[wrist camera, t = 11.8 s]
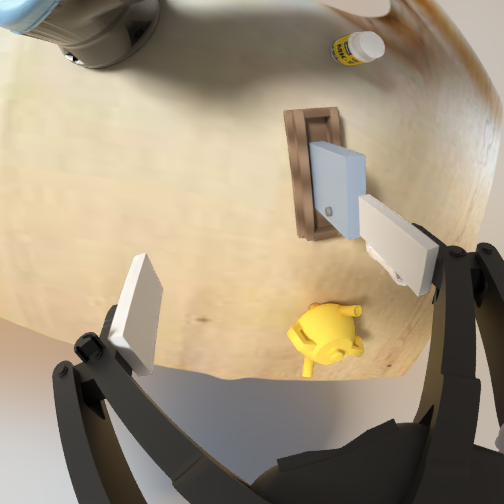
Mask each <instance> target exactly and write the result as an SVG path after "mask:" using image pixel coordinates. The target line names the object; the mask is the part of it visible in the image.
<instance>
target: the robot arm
mask: <svg viewBox="0 0 504 504" xmlns="http://www.w3.org/2000/svg"><path fill="white" fill-rule="evenodd" d="M159 16H160V5H159V1H158V0H0V27H3V28H6V29H9V30H10V31H11V32H13V33H15V34H21V35H26V36H30V37H34V38H37V39H41V40H45V41H48V42H52V43H55V44H58V46H59V47H60V49H61V51H62V53H63V54H64V56H65V57H66V58H67V59H68V60H70V61H71V62H73V63H75V64H77V65H80V66H83V67H87V68H103V67H108V66H111V65H114V64H117V63H119V62H121V61H123V60H125V59H127V58H128V57H130V56H131V55H133V54H134V53H135V52H137V51H138V50H139V49H140V48H141V47H142V46H143V45H144V44H145V43H146V42H147V41H148V39H149V38H150V37H151V35H152V34H153V32H154V30H155V28H156V26H157V23H158V20H159ZM359 223H360V236H361V237H362V238H363V239H364V240H365V241H366V242H367V243H368V244H369V245H370V246H371V247H372V248H373V249H374V250H375V251H376V252H377V253H378V254H379V255H380V256H381V257H382V258H383V259H384V260H385V261H386V262H387V263H388V264H389V265H390V267H391V268H392V269H393V270H394V271H395V272H396V273H397V274H398V275H399V276H400V277H401V278H402V280H403V281H404V282H405V283H406V284H407V285H408V286H409V287H410V288H411V290H412V291H413V292H414V293H415V294H416V295H417V296H418V297H420V296H422V295H425V294H427V293H429V292H430V288H431V284H432V283H433V284H434V285H435V286H436V290H435V294H434V297H433V301H432V304H434V314H433V326H432V335H431V344H430V352H429V359H428V365H427V371H426V376H425V382H424V387H423V392H422V396H421V401H420V405H419V408H418V411H417V414H416V416H415V418H414V421H413V423H397V424H396V423H395V420H394V419H391V420H389V421H387V422H385V423H383V424H381V425H378V426H376V427H374V428H372V429H369V430H367V431H366V432H364V433H363V434H361V435H360V436H358V437H357V438H356V439H354V440H353V441H351V442H350V443H348V444H347V445H345V446H343V447H342V448H339V449H332V450H321V451H308V452H303V453H301V454H296V455H292V456H288V457H284V458H281V459H277V463H278V465H276V466H274V467H272V468H270V469H269V470H267V471H266V472H264V473H263V474H262V475H260V476H259V477H258V478H257V479H256V480H255V482H254V483H253V484H252V485H249V484H248V483H246V482H245V481H244V480H242V479H241V478H239V477H238V476H236V475H235V474H233V473H232V472H231V471H229V470H228V469H227V468H226V467H224V466H223V465H221V464H220V463H219V462H218V461H216V460H215V459H214V458H213V457H212V456H211V455H209V454H208V453H207V452H206V451H205V450H203V449H202V448H201V447H200V446H199V445H198V444H197V443H195V442H194V441H193V440H192V439H191V438H190V437H189V436H188V435H187V434H186V433H185V432H183V431H182V430H181V429H180V428H179V427H178V426H177V425H176V424H175V423H174V422H173V421H172V420H171V419H170V418H169V417H168V416H167V415H166V414H165V413H164V412H163V411H162V410H161V409H160V408H159V407H158V406H157V405H156V404H155V403H154V401H153V400H152V399H151V398H150V397H149V396H148V395H147V394H146V393H145V392H144V390H143V389H142V388H141V387H140V386H139V385H138V384H137V383H136V381H135V380H134V379H133V378H132V377H131V375H132V370H133V371H134V372H135V373H136V374H137V375H138V376H146V375H152V373H153V362H154V353H155V344H156V336H157V328H158V320H159V313H160V306H161V300H162V293H163V287H162V285H161V283H160V281H159V279H158V277H157V275H156V273H155V271H154V268H153V266H152V264H151V262H150V260H149V258H148V256H147V253H143V254H139V255H136V256H135V257H134V260H133V262H132V265H131V268H130V270H129V273H128V276H127V279H126V282H125V284H124V287H123V290H122V293H121V296H120V299H119V302H118V304H117V305H113V306H112V307H111V309H110V310H109V311H108V313H107V315H106V318H105V322H104V325H103V328H102V331H101V334H100V337H98V336H97V335H96V334H95V333H94V332H89V333H85V334H84V335H82V336H81V337H80V338H79V339H78V340H77V341H76V343H75V346H74V351H75V353H76V354H77V355H78V356H79V357H80V359H81V360H82V361H83V362H82V363H80V364H78V365H76V366H74V365H73V364H72V363H71V362H69V361H62V362H60V363H59V364H58V365H57V366H56V367H55V369H54V371H53V376H52V378H53V389H54V399H55V407H56V414H57V420H58V427H59V432H60V438H61V442H62V447H63V452H64V456H65V459H66V464H67V468H68V471H69V474H70V478H71V482H72V485H73V488H74V491H75V494H76V497H77V500H78V503H79V504H147V502H146V501H145V499H144V497H143V495H142V493H141V491H140V489H139V487H138V485H137V483H136V481H135V479H134V477H133V475H132V472H131V471H130V468H129V466H128V464H127V461H126V459H125V457H124V454H123V452H122V449H121V447H120V444H119V442H118V439H117V437H116V434H115V431H114V428H113V426H112V423H111V420H110V417H109V414H108V411H107V408H106V405H105V401H104V399H107V400H108V402H109V403H110V405H111V406H112V408H113V409H114V411H115V412H116V414H117V415H118V416H119V418H120V419H121V420H122V422H123V423H124V425H125V426H126V427H127V429H128V430H129V431H130V433H131V434H132V435H133V436H134V438H135V439H136V440H137V441H138V442H139V444H140V445H141V446H142V448H143V449H144V450H145V451H146V452H147V453H148V455H149V456H150V457H151V458H152V459H153V460H154V461H155V463H156V464H157V465H158V466H159V467H160V468H161V469H162V470H163V471H164V472H165V473H166V474H167V475H168V477H169V478H170V479H171V480H172V485H173V486H174V488H175V489H176V490H177V491H178V492H179V493H180V494H181V495H182V496H183V497H184V498H185V499H186V500H187V501H188V502H189V503H190V504H504V260H503V259H502V257H501V256H500V254H499V252H498V251H497V249H496V248H495V247H494V246H492V245H491V244H488V243H484V242H483V243H479V244H478V245H477V248H476V252H469V253H467V252H466V251H465V250H464V249H463V248H461V247H458V246H446V245H445V244H444V243H443V242H441V241H440V240H439V239H438V238H436V237H435V236H434V235H432V234H431V233H430V232H428V231H427V230H426V229H425V228H423V227H422V226H420V225H417V224H415V223H412V224H411V223H409V222H408V221H407V220H405V219H404V218H403V217H401V216H400V215H399V214H397V213H396V212H394V211H393V210H392V209H390V208H389V207H387V206H386V205H384V204H383V203H382V202H380V201H379V200H377V199H376V198H374V197H373V196H371V195H370V194H366V195H362V196H359ZM475 318H476V320H477V324H478V327H479V331H480V334H481V338H482V341H483V345H484V349H485V353H486V357H487V362H488V366H489V371H490V376H491V382H492V387H493V393H494V400H495V407H496V412H497V418H498V422H499V426H500V431H499V436H498V437H497V438H496V441H495V445H496V447H497V448H498V449H499V452H497V451H493V450H490V449H487V448H484V447H481V446H478V445H475V444H473V443H474V438H475V433H476V426H477V420H478V412H479V402H480V391H481V382H480V379H476V377H475V370H476V368H475V367H476V325H475Z"/></svg>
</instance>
